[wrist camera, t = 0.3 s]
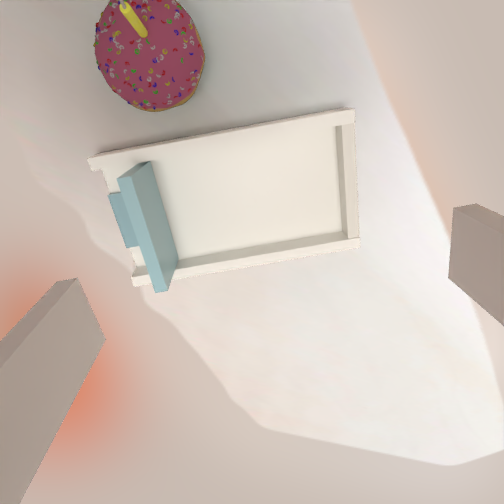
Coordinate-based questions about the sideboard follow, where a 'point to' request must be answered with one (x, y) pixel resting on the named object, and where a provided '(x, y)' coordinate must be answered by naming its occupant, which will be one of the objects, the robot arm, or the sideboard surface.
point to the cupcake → (149, 52)
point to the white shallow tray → (251, 192)
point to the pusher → (145, 223)
